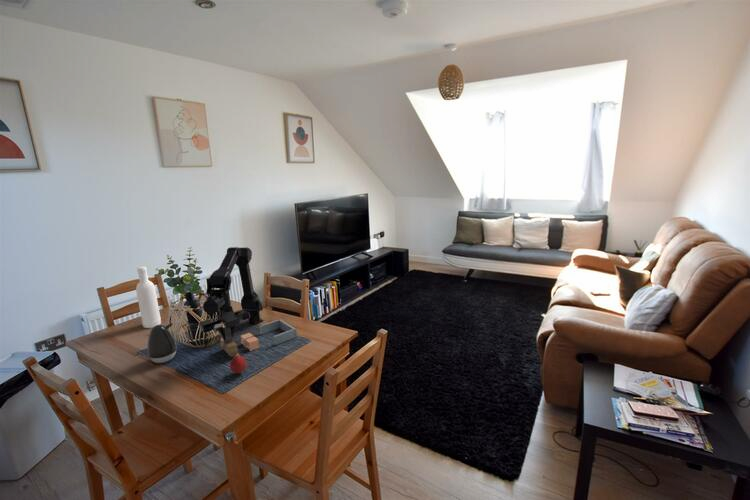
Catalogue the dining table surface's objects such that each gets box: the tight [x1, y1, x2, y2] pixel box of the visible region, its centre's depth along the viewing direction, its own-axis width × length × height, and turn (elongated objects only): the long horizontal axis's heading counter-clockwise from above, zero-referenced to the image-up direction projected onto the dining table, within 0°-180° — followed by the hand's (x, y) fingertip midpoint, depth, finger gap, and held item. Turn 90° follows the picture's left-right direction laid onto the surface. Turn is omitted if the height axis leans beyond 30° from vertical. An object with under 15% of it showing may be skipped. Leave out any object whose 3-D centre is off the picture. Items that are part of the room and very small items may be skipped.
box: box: [258, 318, 298, 346], centre depth 162 cm, size 15×10×4 cm
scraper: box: [219, 326, 239, 357], centre depth 147 cm, size 11×3×10 cm, turn 43°
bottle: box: [135, 266, 162, 329], centre depth 174 cm, size 8×8×30 cm
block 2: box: [245, 335, 260, 352], centre depth 152 cm, size 4×4×4 cm
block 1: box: [240, 332, 255, 348], centre depth 155 cm, size 4×4×4 cm
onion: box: [229, 353, 248, 374], centre depth 133 cm, size 6×6×8 cm
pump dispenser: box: [146, 322, 178, 364], centre depth 143 cm, size 10×10×15 cm
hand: (227, 339), depth 147 cm, fingers closed on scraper, 2 cm apart
